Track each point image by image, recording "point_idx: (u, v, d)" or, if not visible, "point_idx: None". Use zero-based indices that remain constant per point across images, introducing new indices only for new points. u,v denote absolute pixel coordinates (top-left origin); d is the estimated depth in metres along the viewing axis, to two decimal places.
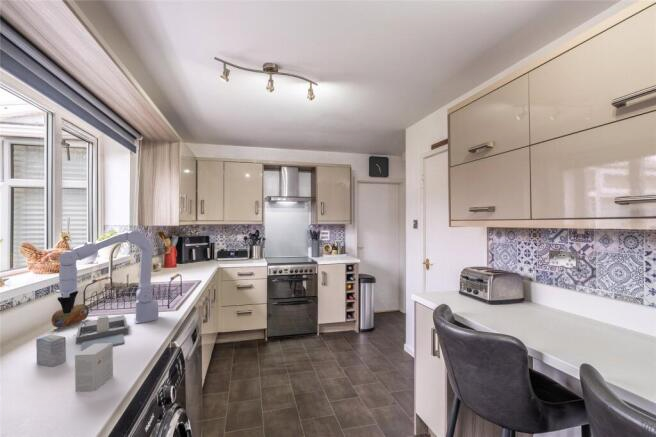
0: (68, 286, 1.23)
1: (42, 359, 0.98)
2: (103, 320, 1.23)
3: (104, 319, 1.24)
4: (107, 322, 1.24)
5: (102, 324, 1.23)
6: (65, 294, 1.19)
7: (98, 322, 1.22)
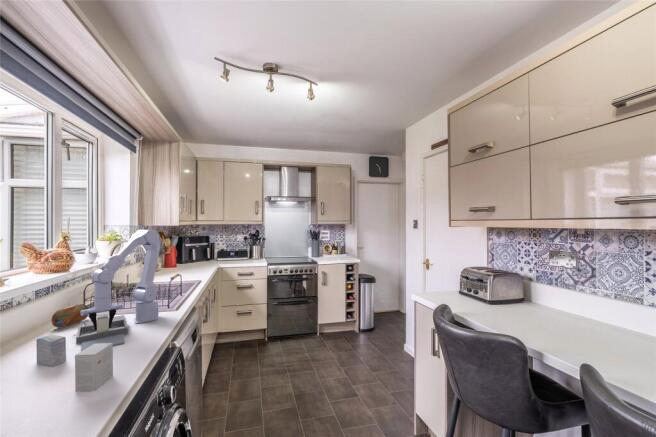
0: (94, 304, 1.24)
1: (42, 359, 0.98)
2: (103, 320, 1.23)
3: (104, 319, 1.24)
4: (107, 322, 1.24)
5: (102, 324, 1.23)
6: None
7: (98, 322, 1.22)
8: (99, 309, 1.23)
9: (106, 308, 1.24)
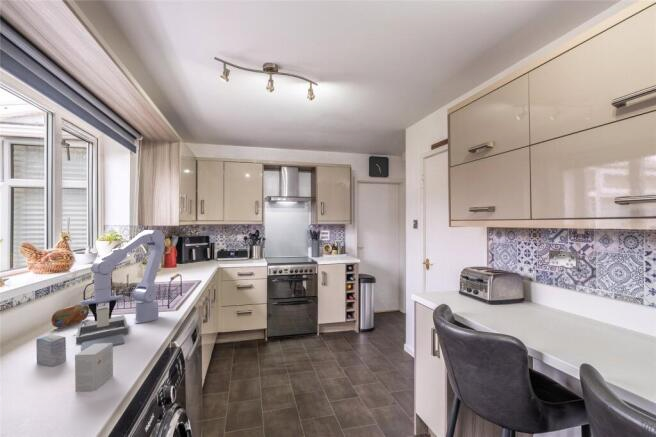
0: (94, 295, 1.24)
1: (42, 359, 0.98)
2: (103, 311, 1.23)
3: (104, 310, 1.24)
4: (107, 313, 1.24)
5: (102, 315, 1.23)
6: None
7: (98, 313, 1.22)
8: (99, 300, 1.23)
9: (106, 299, 1.24)
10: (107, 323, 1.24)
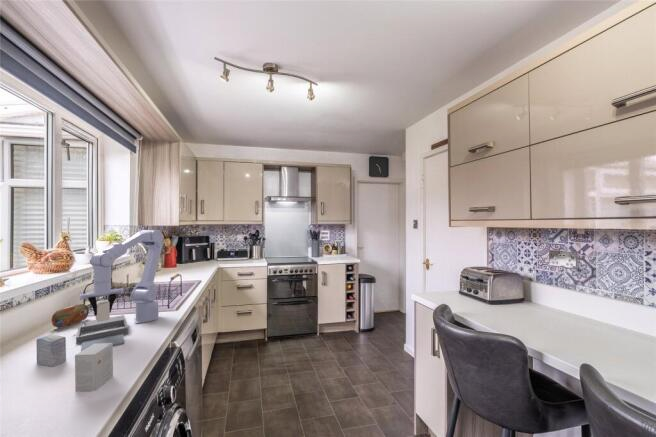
0: (94, 288, 1.20)
1: (42, 359, 0.98)
2: (104, 305, 1.21)
3: (105, 304, 1.21)
4: (108, 307, 1.21)
5: (103, 309, 1.20)
6: None
7: (99, 307, 1.19)
8: (100, 293, 1.20)
9: (107, 292, 1.21)
10: (108, 317, 1.21)
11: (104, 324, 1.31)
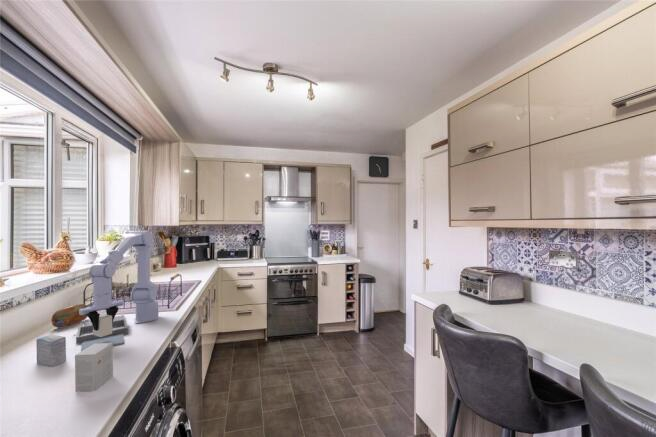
0: (94, 302, 1.12)
1: (42, 359, 0.98)
2: (106, 318, 1.14)
3: (107, 317, 1.14)
4: (110, 320, 1.15)
5: (105, 323, 1.14)
6: (80, 311, 1.09)
7: (101, 321, 1.12)
8: (102, 306, 1.13)
9: (109, 304, 1.15)
10: (110, 331, 1.15)
11: None
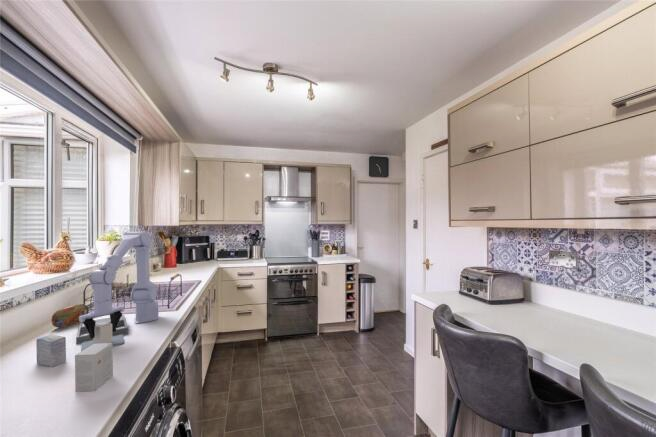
0: (94, 308, 1.12)
1: (42, 359, 0.98)
2: (107, 327, 1.14)
3: (108, 325, 1.14)
4: (111, 328, 1.15)
5: (106, 331, 1.14)
6: (80, 318, 1.09)
7: (102, 329, 1.12)
8: (102, 312, 1.13)
9: (109, 311, 1.15)
10: (110, 339, 1.15)
11: None
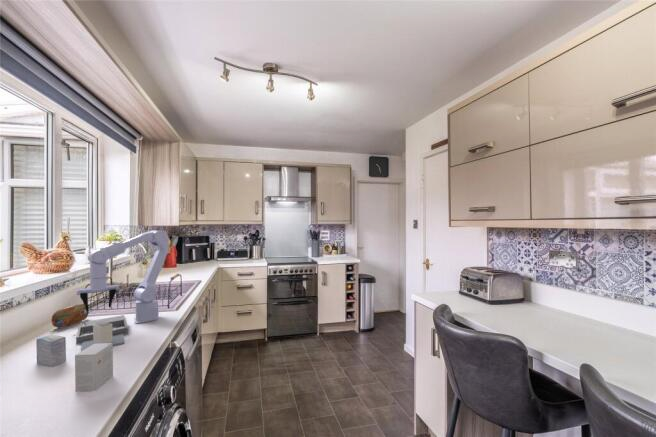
0: (90, 284, 1.26)
1: (42, 359, 0.98)
2: (107, 327, 1.14)
3: (108, 325, 1.14)
4: (111, 328, 1.15)
5: (106, 331, 1.14)
6: None
7: (102, 329, 1.12)
8: (95, 289, 1.25)
9: (102, 288, 1.26)
10: (110, 339, 1.15)
11: None
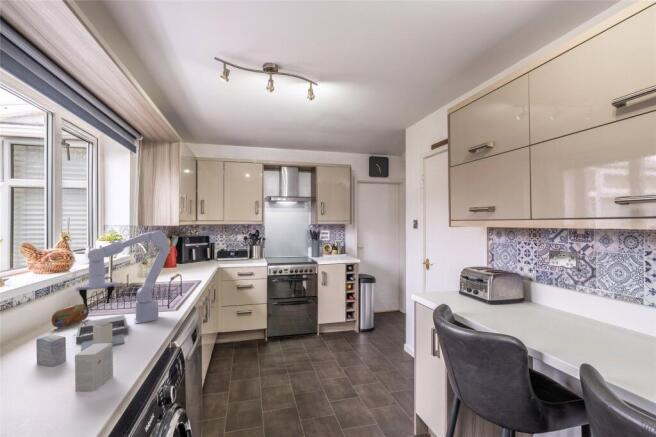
0: (89, 281, 1.30)
1: (42, 359, 0.98)
2: (107, 327, 1.14)
3: (108, 325, 1.14)
4: (111, 328, 1.15)
5: (106, 331, 1.14)
6: (76, 288, 1.28)
7: (102, 329, 1.12)
8: (93, 285, 1.30)
9: (100, 285, 1.31)
10: (110, 339, 1.15)
11: None
